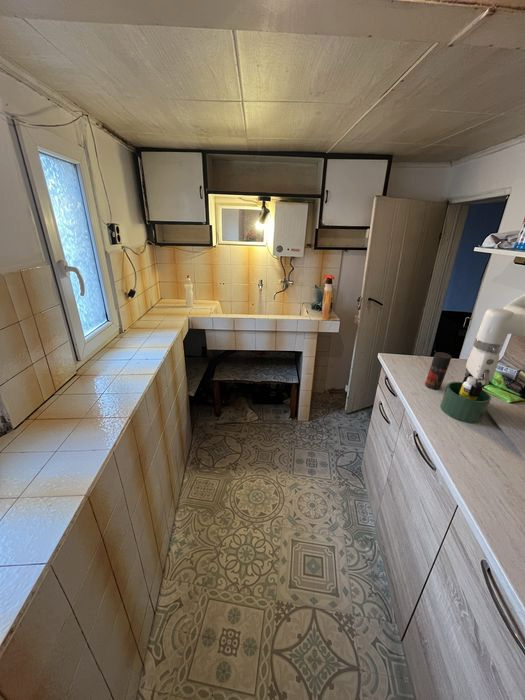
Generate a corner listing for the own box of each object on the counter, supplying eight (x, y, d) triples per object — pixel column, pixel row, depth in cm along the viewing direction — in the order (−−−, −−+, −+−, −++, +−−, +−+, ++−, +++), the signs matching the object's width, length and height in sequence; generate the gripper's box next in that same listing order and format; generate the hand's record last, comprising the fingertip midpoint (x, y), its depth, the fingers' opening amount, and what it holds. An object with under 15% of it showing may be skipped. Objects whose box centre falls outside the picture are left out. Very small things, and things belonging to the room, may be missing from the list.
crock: (472, 404, 110) (481, 385, 106) (488, 426, 98) (498, 405, 94) (435, 398, 113) (442, 379, 109) (446, 419, 101) (454, 398, 97)
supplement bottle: (456, 402, 103) (465, 379, 99) (457, 396, 107) (465, 373, 103) (474, 408, 100) (483, 384, 96) (474, 401, 104) (483, 378, 100)
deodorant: (424, 381, 125) (434, 350, 119) (439, 384, 123) (450, 354, 117) (425, 387, 120) (435, 356, 114) (440, 391, 118) (452, 359, 112)
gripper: (514, 357, 86) (493, 406, 93) (488, 337, 101) (471, 381, 108) (486, 354, 87) (467, 403, 95) (465, 335, 102) (450, 378, 110)
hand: (469, 390), depth 102 cm, fingers closed on supplement bottle, 5 cm apart
